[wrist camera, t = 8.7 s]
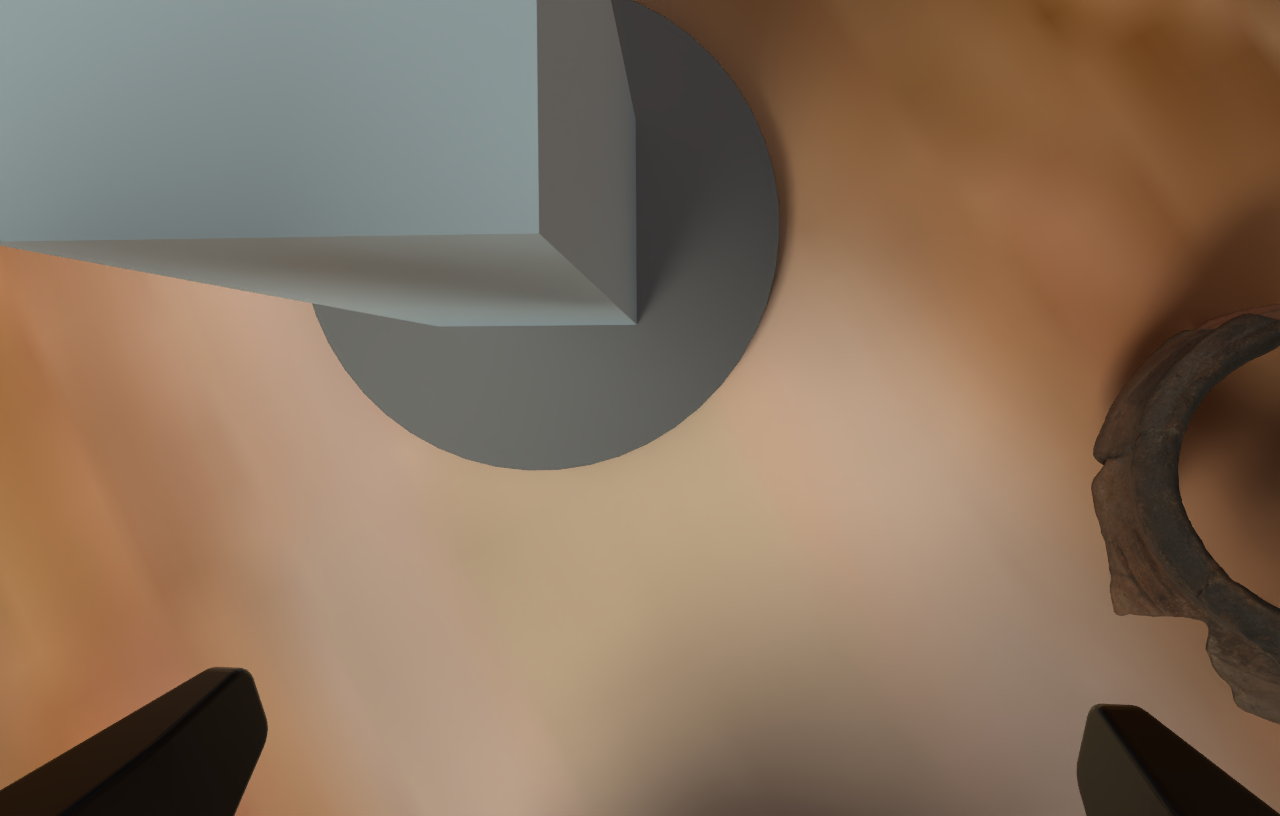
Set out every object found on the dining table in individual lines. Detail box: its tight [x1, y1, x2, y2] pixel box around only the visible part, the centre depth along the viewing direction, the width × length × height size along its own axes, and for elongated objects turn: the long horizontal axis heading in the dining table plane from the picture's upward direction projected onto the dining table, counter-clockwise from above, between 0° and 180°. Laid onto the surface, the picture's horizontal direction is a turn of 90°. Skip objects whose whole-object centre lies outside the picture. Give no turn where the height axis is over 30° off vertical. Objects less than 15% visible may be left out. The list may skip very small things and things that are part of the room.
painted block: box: [0, 0, 637, 327], centre depth 13 cm, size 5×5×13 cm
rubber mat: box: [312, 0, 779, 470], centre depth 20 cm, size 12×12×1 cm
